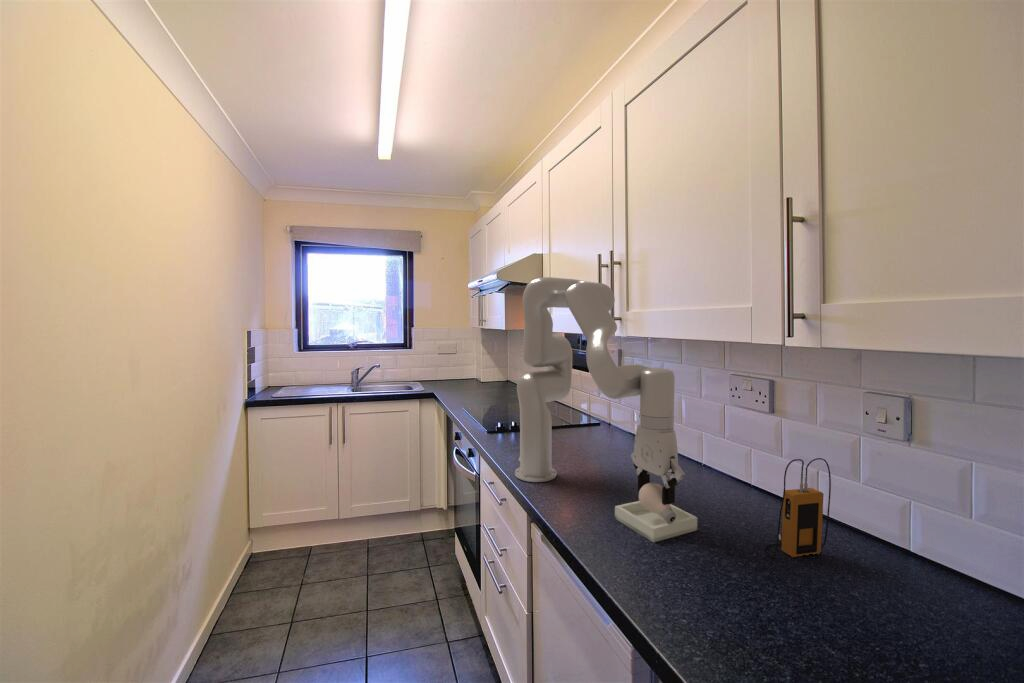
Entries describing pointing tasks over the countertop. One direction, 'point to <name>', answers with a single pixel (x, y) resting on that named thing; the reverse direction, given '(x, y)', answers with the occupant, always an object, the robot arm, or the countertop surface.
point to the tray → (655, 521)
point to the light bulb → (655, 501)
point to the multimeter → (802, 518)
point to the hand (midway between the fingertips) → (655, 496)
